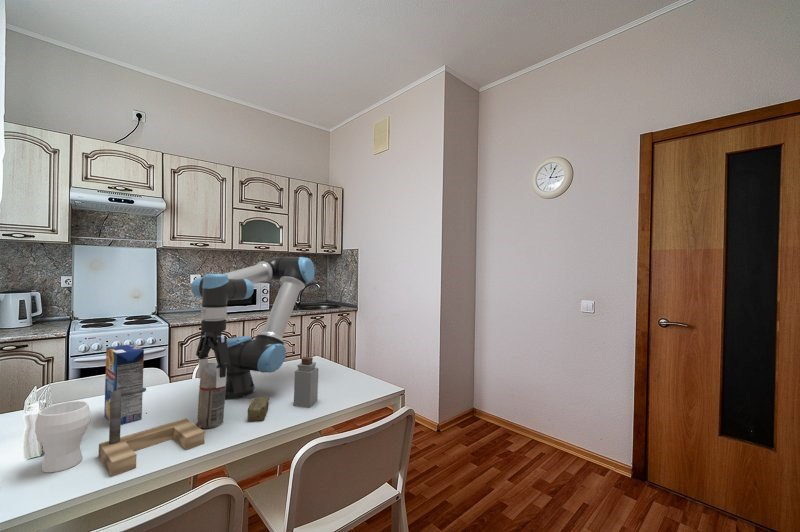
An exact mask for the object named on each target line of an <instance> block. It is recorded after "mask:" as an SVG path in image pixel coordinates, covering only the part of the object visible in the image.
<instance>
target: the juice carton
mask: <svg viewBox="0 0 800 532" xmlns="http://www.w3.org/2000/svg"><path fill="white" fill-rule="evenodd" d="M105 352H106V354H105V356H106V357H105V377H104V378H105V383H104V384H105V385H104V414H103V416H104V418H105V419H106V420H107V421H108V422H109V423H110V396H111V392H113V391H122V392H126V391H130V390H135V389H140V388H144V361H145V360H144V359H145V357H144V355H145V349H144V348H141V347H140V346H138V345H136V344H133V343H131V344H124V345H115V346H109V347H106V351H105ZM143 393H144V392H141V393H136V394H132V395H127V396H123V397H121V426H123V425H127V424H129V423H134V422H137V421H140V420H142V419H143V395H144V394H143Z"/></svg>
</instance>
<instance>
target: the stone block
mask: <svg viewBox="0 0 800 532" xmlns="http://www.w3.org/2000/svg"><path fill="white" fill-rule="evenodd" d="M269 398H270V397H267V396H264V397H263V396H261V397H257V396H256V397H253V399H252V400H251V401H250V404H249V405H248V408H247V421H248V422H249V421H250V422H260V421H264V420H265V417H267V416H266V415H267V412H268V410H269V405H270V403H269V401H270V399H269Z"/></svg>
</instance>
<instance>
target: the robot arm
mask: <svg viewBox="0 0 800 532" xmlns="http://www.w3.org/2000/svg"><path fill="white" fill-rule="evenodd" d="M315 271H316V270H315V265H314V263H313V261H312V260H311V259H310V258H308V257H304V256H300V257H299V256H298V257H296V256H278V257H273V258H269V259H266V260H262V261H259V262H257V263H256V264H255V265H252V266H247V267H245V268H243V267H242V268H241V269H236V270H232V271H230V272H229V271H228V272H225V273H206V274H204V275H203V277H197V278H195V279H194V280H193V281H192V283H191V287H190V289H191V293H192V295H194V296H195V297H197V298H198V297H199V298H201V299H202V301H201V302H202V303H201V310H200V314H201V319H202V320H201V322H200V331H201V332H200V337H199V342H198V346H197V349H196V352H195V355H196V357H197V359H198V372H197V373H198V374H197V375H198V376H197V377H198V378H197V379H199V380H200V378H201V372H202V368H203V366H204V365H206V364H208V363H209V353H210V351H211V350H212V351H213V353H214V356H215V360H216V362H217V363H216V364H218V366H217V367H216V368H217V374H216V388H219V387H223V386H225V385H226V392H225V400H232V399H233V400H234V399H240V398H245V397H247V396H250V395H252V394H254V392H255V382H254V379H253V377H252V373H251V372H252V371H253V372H260V373H262V374H263V373H270V374H271V373H274V372H276V371H277V370H279V369H281V366H282V365H283V364H284V362H285V361H286V355H287V354H286V352H287V350H286V347H285V342H284V338H283V337H284V334H285V331H286V329H287V326H288V323H289V321H290V319H291V316H292V313H293V310H294V308H295V305H296V302H297V300H298V297H299V293H300V291H301V290H304V289H305V287H306V285H307V284H308V283H312V282H313V280H314V278H315ZM270 281H277V282H278V281H280V283H281V285H280V287H279V289H278V293H277V294H276V297H275V300H274V301H273V305H272V307H271V310H270V313H269V314H268V317H267V319H266V322H265V324H264V327H263V329H262V332H259V333H258V334H256V336H255V338H254V341H253V339H252V337H251V335H250V336H249V335H243V336H234V337H230V338H227V335H222V332H225V331H226V329H227V320H226V318H227V317H228V302H229V301H237V300H240V301H241V300H242V301H243V300H245V299H246V300H247V299H250V297H252V295H253V294H254V290H255V289H254V284H256V283H259V282H264V283H265V282H270ZM226 369H227V382H226Z"/></svg>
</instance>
